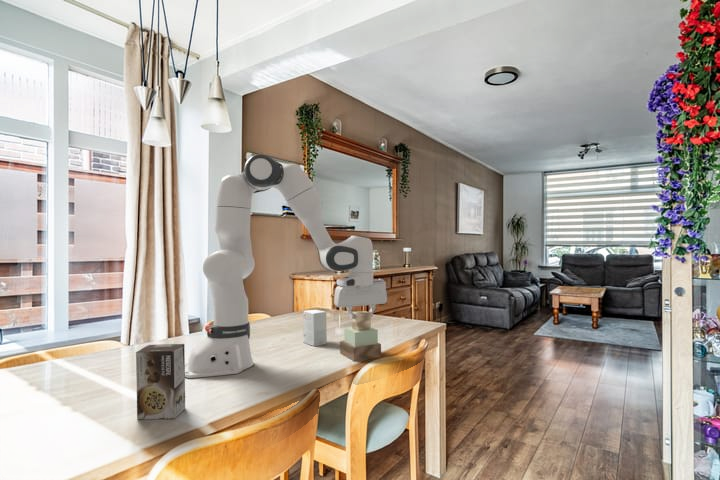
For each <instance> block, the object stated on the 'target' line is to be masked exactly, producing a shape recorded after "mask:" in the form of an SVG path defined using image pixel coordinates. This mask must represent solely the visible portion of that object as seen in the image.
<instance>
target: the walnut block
mask: <svg viewBox="0 0 720 480" xmlns="http://www.w3.org/2000/svg"><path fill="white" fill-rule="evenodd" d="M339 354H340V355H342V356H343V357H345V358H347V359H349V360H351V361H352V362H360V361H365V360H371V359H376V358H381V357H382V344H381V343H379V342H378V344H374V345H367V346H359V347H354V346H352V345H350V344H349V343H347V342H345V340H340V341H339Z"/></svg>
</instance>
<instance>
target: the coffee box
mask: <svg viewBox="0 0 720 480" xmlns="http://www.w3.org/2000/svg"><path fill="white" fill-rule="evenodd" d="M185 364H186V363H185V343H170V344H169V343H167V344H161V343H160V344H148V345H146V346H144V347H143V348H140V349H138V351H136V352H135V369H136V371H135V372H136V420H137V419H145V420H160V419H159V418H165V419H167V418H168V419H169V420H171V418H172V419H176V418H178V416H179V415H180V414H181V413H183V411H184V410H185V409H186V377H185ZM165 419H164V420H165Z"/></svg>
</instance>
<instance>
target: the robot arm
mask: <svg viewBox="0 0 720 480" xmlns="http://www.w3.org/2000/svg"><path fill="white" fill-rule="evenodd" d="M271 188H274V189H277V190H278V191H279V192H280V193H281V195H282V196H283V198H284V200H285V201H286V204H287V205H288V206H289V208H290V210H291V211H292V212H293V213H294V215H295V216H296V217H297V218H298V220H299V221H300V222H301V223H302V224H303V226H304V227H305V228H306V231H307V232H308V233H309V235H310V237H311V239H312V241H313V243H314V245H315V247H316V249H317V255H318V260H319V263H320V266H321V267H322V268H323V269H325V270H327V271H330V272H339V273H340V272H344V271H347V270H348V274H347V275H345V276H343V277H340V278H338V279H336V285H337V286H336V288H335V290H334V296H333V297H334V299H333V302H334V305H335V307H337V308H340V309H341V308H346V310H347V312H348V314H349V319H350V320H352V319H355V314H354V313H353V312H354V311H352V310H353V307H360V306H361V307H363V306H369V307H370V309H369V311H368V312H369V313H371V318H373V316H374V315H373V314H374V312H375V310H376V308H377V307H376V305H382V304H383V305H384V304H386V303H387V302H388V294H387V283H386V281H385V280H384V279H383V278H374V269H373V263H374V262H373V261H374V249H373V247H374V246H373V243H372V242H373V241H372V240H371V239H370V237H367V236H365V235H358V234H353V235H350V237H348V238H347V239H345V240H342V241H341V242H339V243H336V242H334V241H333V239H332V238H331V236H330V234H329V233H328V230H327V227H325V225H324V222H323V219H322V208H323V204H322V201H321V197H320V195H319V193H318V191H317V188H316V187H315V185H314V183H313V182H312V181H311V179H310V178H309V176H308V175H307V173H306V172H305V171H304V169H303V168H302V167H301V166H300V165H298V164H297V163H288V164H285V165H282V164H281V163H280V162H279V161H277V160H275V159H273V158H272V157H270V156H268V155H266V154H261V153H259V154H258V153H257V154H254V155H252V156H250V157H249V158H248V159H247V160H246V162H245V164H244V168H243V172H242V173H241V174H228V175H225V176H224V177H222V179H221V180H220V183H219V186H218V191H217V195H216V196H217V197H216V210H215V211H216V212H215V227H214V230H215V233H216V234H217V237H218V238H217V239H218V242H219V248H220V249H219V250H217V251H214V252H213V253H211V254H209V255H208V256H207V257H206V258H205V260H204V262H203V265H202V271H203V274H204V276H205V278H206V279H207V280H208V283H209V287H210V293H211V295H212V301H213V302H212V303H213V324H211V325H210V324H206V325H205V326H204V330H205V332H206V334H207V335H206V337H205V338H204V339H203V340H201V341H200V342H199V343H198V344H196V345H195V346H194V347H193V348H192V349H191V350H190V353H189V355H188V361H187V363H185V379H186V378H187V379H195V378H196V379H197V378H206V377H215V376H226V375H236V374H239V373H241V372H243V371H245V370H246V369H249V368H251V367H252V366H253V365H254V360H253V357H252V351H251V346H250V345H251V344H250V337H251V325H250V324H251V323H250V321H249V298H248V296H247V294H246V291H245V286H244V280H245V279H246V278H248V277H249V275H251V274H252V273H253V271H254V269H255V266H256V264H255V259H254V255H253V248H252V247H253V246H252V239H251V218H252V217H251V216H252V215H251V214H252V198H253V194H256V193H261V192H265V191H268V190H270V189H271Z"/></svg>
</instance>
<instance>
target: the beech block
mask: <svg viewBox="0 0 720 480" xmlns="http://www.w3.org/2000/svg"><path fill="white" fill-rule="evenodd" d="M352 312H353V313H354V314H355V319H351V323H352V324H351V327H352V328H353V329H355V330H357V331H364V330H371V327H372V326H371V325H372V317H371V313H369V311H366V310H359V311H358V310H357V311H352Z"/></svg>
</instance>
